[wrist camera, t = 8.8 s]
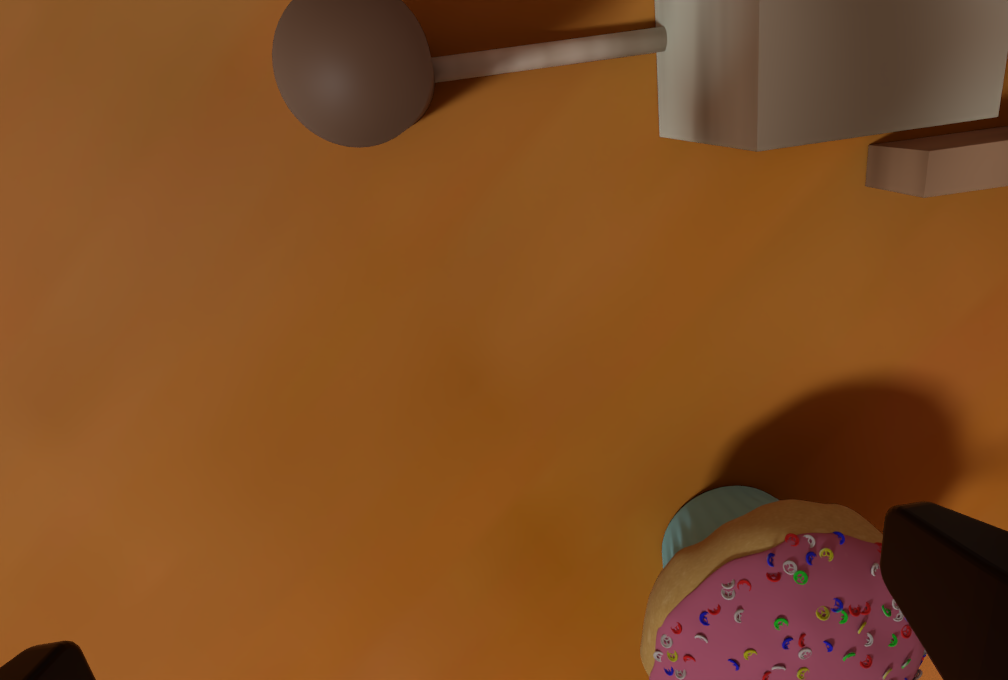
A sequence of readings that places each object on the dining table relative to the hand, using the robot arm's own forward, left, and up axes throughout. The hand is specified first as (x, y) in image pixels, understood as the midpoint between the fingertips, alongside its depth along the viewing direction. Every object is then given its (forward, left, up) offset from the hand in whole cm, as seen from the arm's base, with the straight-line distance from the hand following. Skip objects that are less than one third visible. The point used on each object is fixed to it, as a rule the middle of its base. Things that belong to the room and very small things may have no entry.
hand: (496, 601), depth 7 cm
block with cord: (-4, -6, -13) cm, 15 cm away
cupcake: (-8, +11, -13) cm, 19 cm away
